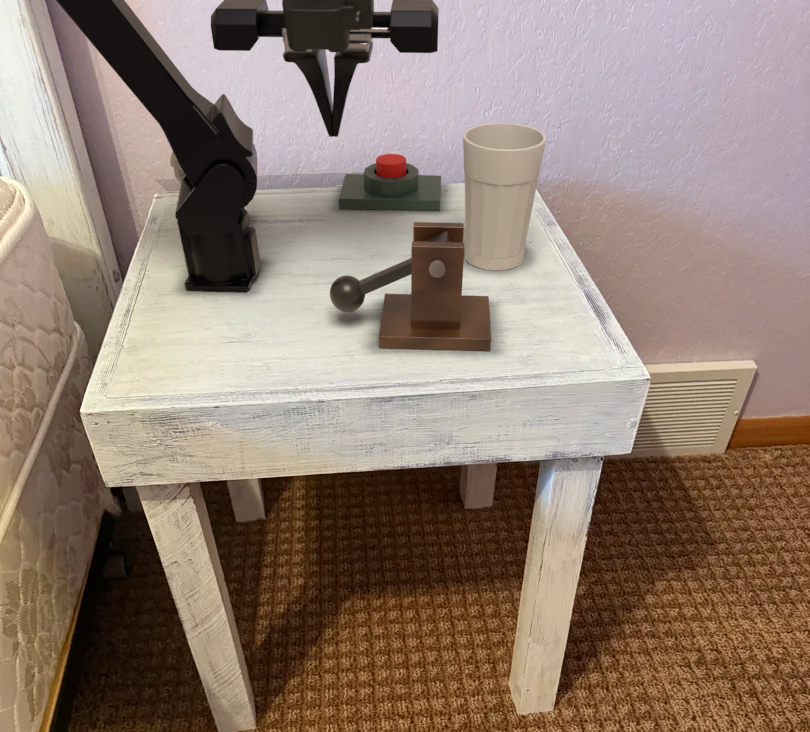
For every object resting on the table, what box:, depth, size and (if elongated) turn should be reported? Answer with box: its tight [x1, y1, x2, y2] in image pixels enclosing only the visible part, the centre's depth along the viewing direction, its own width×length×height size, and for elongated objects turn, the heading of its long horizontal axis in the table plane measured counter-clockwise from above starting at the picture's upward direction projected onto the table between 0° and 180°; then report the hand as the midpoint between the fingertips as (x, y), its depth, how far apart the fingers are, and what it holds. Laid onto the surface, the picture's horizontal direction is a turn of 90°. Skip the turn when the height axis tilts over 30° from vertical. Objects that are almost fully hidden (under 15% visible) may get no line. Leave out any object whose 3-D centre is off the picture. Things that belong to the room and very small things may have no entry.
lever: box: [329, 231, 452, 313], centre depth 68 cm, size 12×3×3 cm, turn 88°
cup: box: [462, 122, 547, 271], centre depth 77 cm, size 8×8×12 cm
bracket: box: [378, 221, 492, 352], centre depth 68 cm, size 10×8×9 cm
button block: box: [338, 162, 442, 212], centre depth 92 cm, size 12×8×3 cm, turn 87°
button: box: [375, 153, 407, 178], centre depth 91 cm, size 4×4×2 cm
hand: (334, 135), depth 70 cm, fingers closed
